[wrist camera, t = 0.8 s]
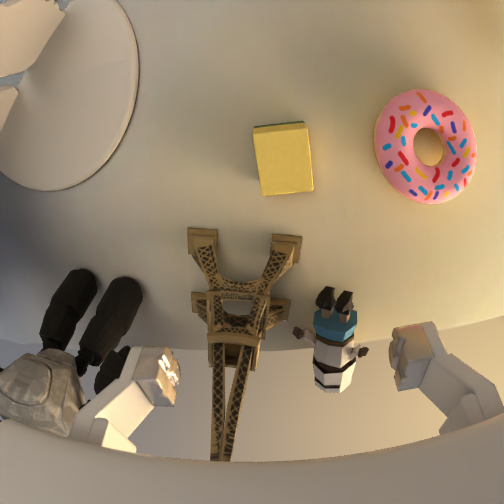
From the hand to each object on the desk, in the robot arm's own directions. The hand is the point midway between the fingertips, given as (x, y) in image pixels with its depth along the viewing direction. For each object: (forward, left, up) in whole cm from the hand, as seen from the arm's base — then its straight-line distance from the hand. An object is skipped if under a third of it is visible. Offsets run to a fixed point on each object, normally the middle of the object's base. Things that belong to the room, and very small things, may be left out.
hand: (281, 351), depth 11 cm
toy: (+12, +5, -16) cm, 21 cm away
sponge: (-2, +1, -18) cm, 19 cm away
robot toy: (+9, -22, -18) cm, 30 cm away
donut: (-6, +16, -16) cm, 23 cm away
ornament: (-10, -18, -18) cm, 27 cm away
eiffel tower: (+10, -5, -18) cm, 22 cm away
